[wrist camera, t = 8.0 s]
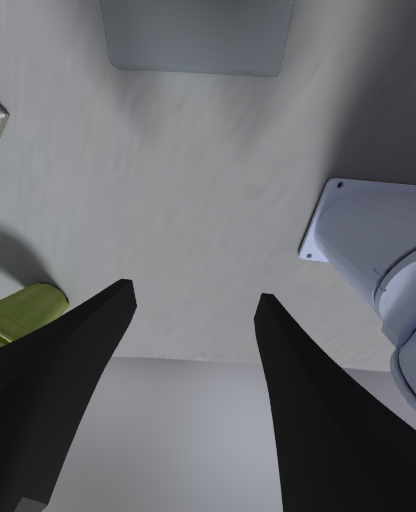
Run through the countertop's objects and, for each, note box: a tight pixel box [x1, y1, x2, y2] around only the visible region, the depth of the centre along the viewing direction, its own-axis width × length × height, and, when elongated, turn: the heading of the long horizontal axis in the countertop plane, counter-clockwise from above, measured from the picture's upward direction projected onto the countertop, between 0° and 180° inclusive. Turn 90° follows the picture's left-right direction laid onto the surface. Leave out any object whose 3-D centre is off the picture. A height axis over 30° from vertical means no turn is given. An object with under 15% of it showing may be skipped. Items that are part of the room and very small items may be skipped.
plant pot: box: [0, 283, 69, 347], centre depth 24 cm, size 9×9×9 cm
